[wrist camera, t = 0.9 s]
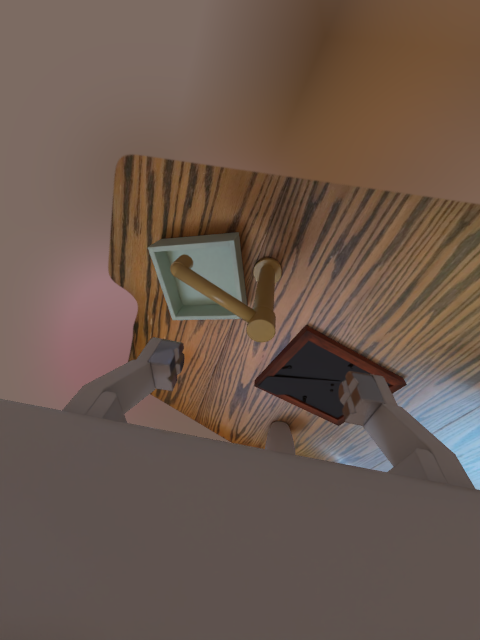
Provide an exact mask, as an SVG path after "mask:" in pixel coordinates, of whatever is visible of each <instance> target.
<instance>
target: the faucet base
mask: <svg viewBox="0 0 480 640" xmlns="http://www.w3.org/2000/svg"><path fill="white" fill-rule="evenodd" d="M253 275H254V278H255V279H256V281H257V282H258V284H257V290H256V295H255V300H254V306H253V309H254V308H256V307H260V306H264V307H268V308H270V309H271V310H272V311H273V309H274V287H275V283H277V282H278V281H279V279H280V278H281V275H282V269H281V265H280V264H279V262H278V261H276V260H275V259H272V258H263V259H261V260H259V261H258V262H257V263H256V264H255V266H254V270H253Z"/></svg>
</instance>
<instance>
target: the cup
mask: <svg viewBox="0 0 480 640" xmlns="http://www.w3.org/2000/svg"><path fill="white" fill-rule="evenodd" d="M265 449H266V450H271V451H277V452H282V453H287V454H292V455H295V447H294V442H293V438H292V434H291V431H290V428H289V426H288V424H286V423H284V422H280V421H277V422H274V423H272V424H271V427H270V430H269V432H268V436H267V441H266V446H265Z"/></svg>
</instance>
